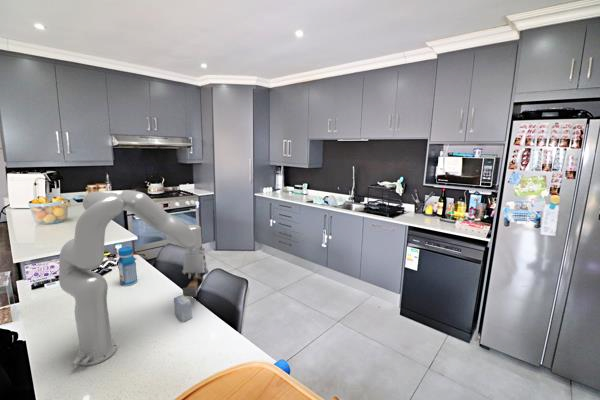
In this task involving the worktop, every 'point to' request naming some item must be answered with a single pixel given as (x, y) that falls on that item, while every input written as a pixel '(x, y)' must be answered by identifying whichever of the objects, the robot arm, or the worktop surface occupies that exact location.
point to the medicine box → (182, 308)
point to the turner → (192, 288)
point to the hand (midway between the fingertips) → (196, 284)
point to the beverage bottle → (127, 266)
